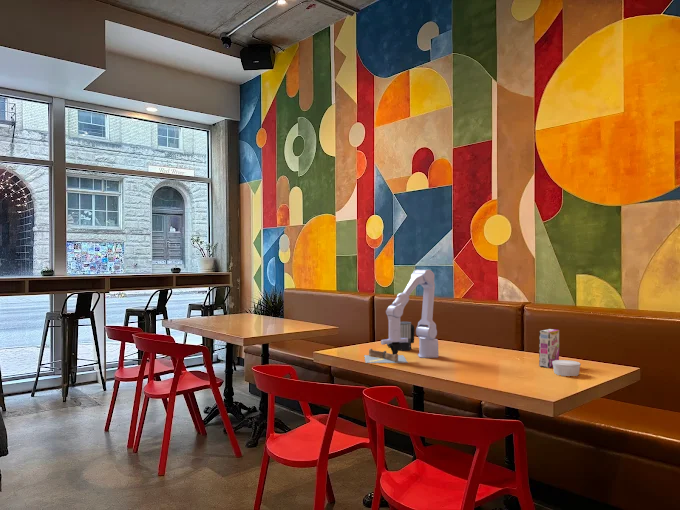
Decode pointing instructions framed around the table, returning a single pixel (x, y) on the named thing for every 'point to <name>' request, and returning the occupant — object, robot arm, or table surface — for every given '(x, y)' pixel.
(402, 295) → the robot arm
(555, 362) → the ramekin
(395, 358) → the fence swing
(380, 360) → the card
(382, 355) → the fence fixed
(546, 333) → the candy bar box
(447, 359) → the table surface
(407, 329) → the milk frother
